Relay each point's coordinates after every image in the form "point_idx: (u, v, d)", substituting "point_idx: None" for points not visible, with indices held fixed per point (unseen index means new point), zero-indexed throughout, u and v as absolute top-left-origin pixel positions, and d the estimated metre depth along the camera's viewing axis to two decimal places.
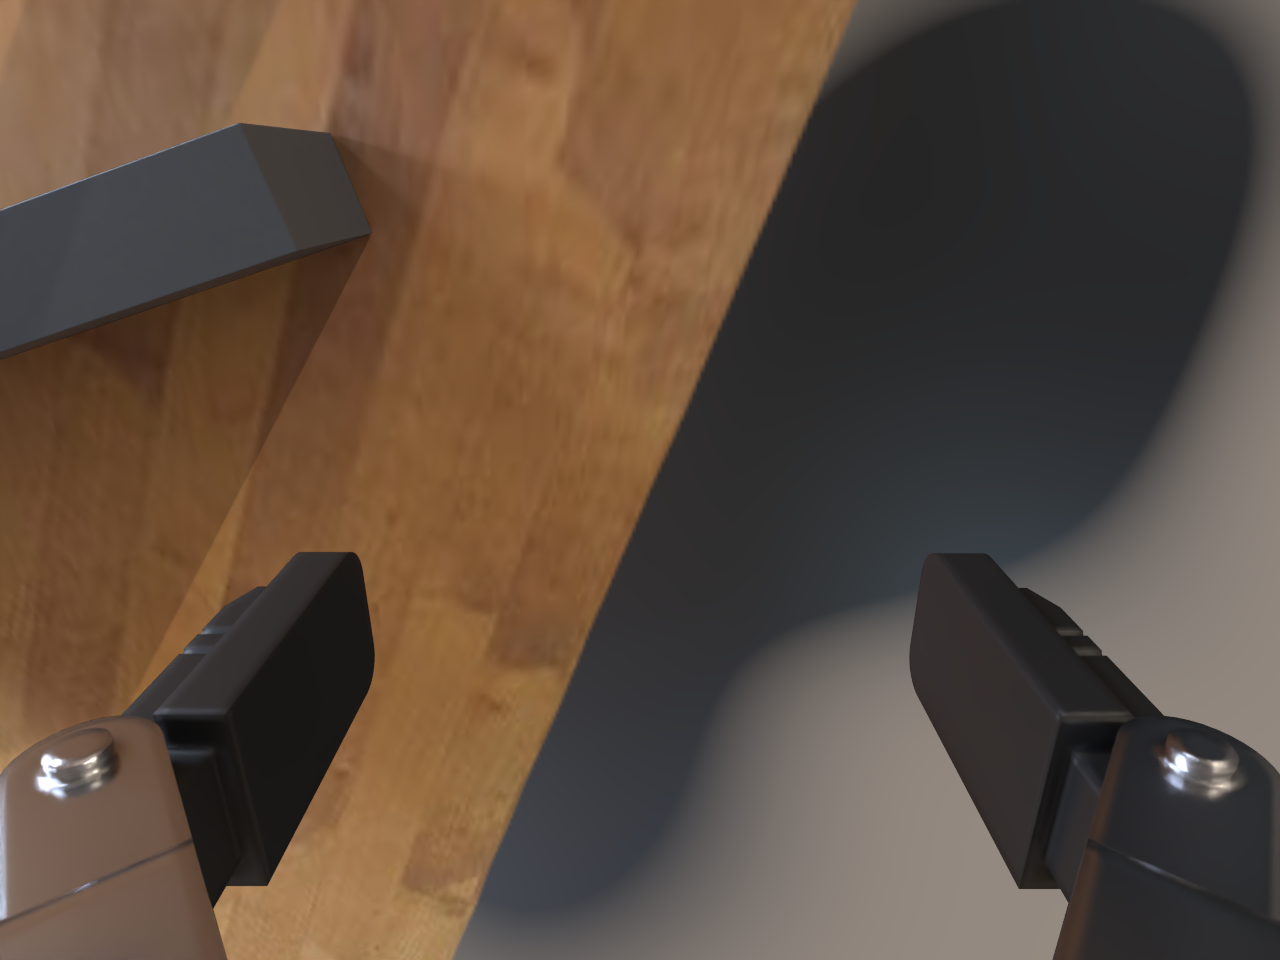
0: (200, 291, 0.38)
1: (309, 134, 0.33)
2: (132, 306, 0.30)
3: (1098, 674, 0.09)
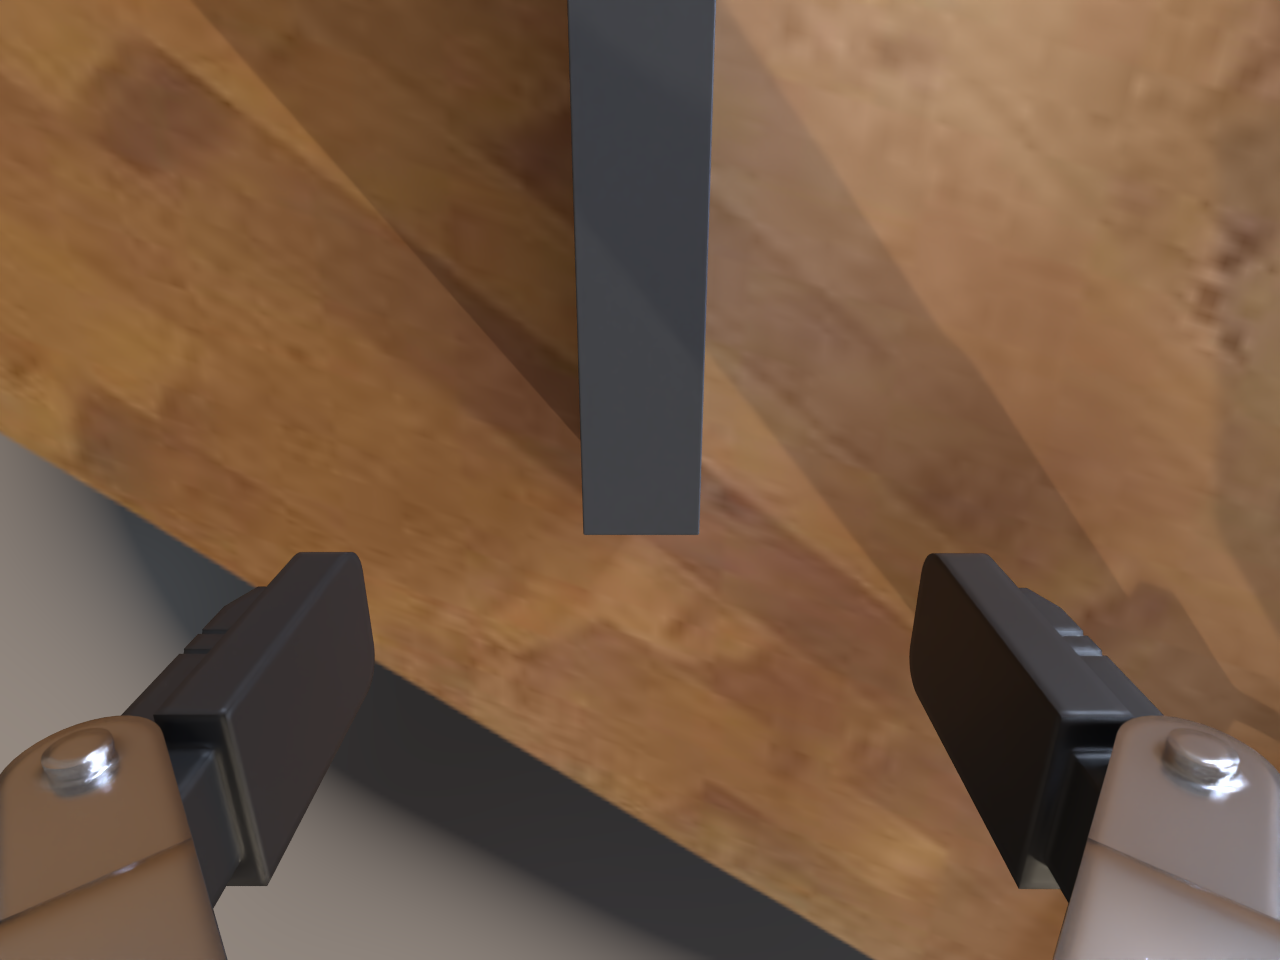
0: None
1: None
2: (579, 361, 0.28)
3: (1098, 674, 0.09)
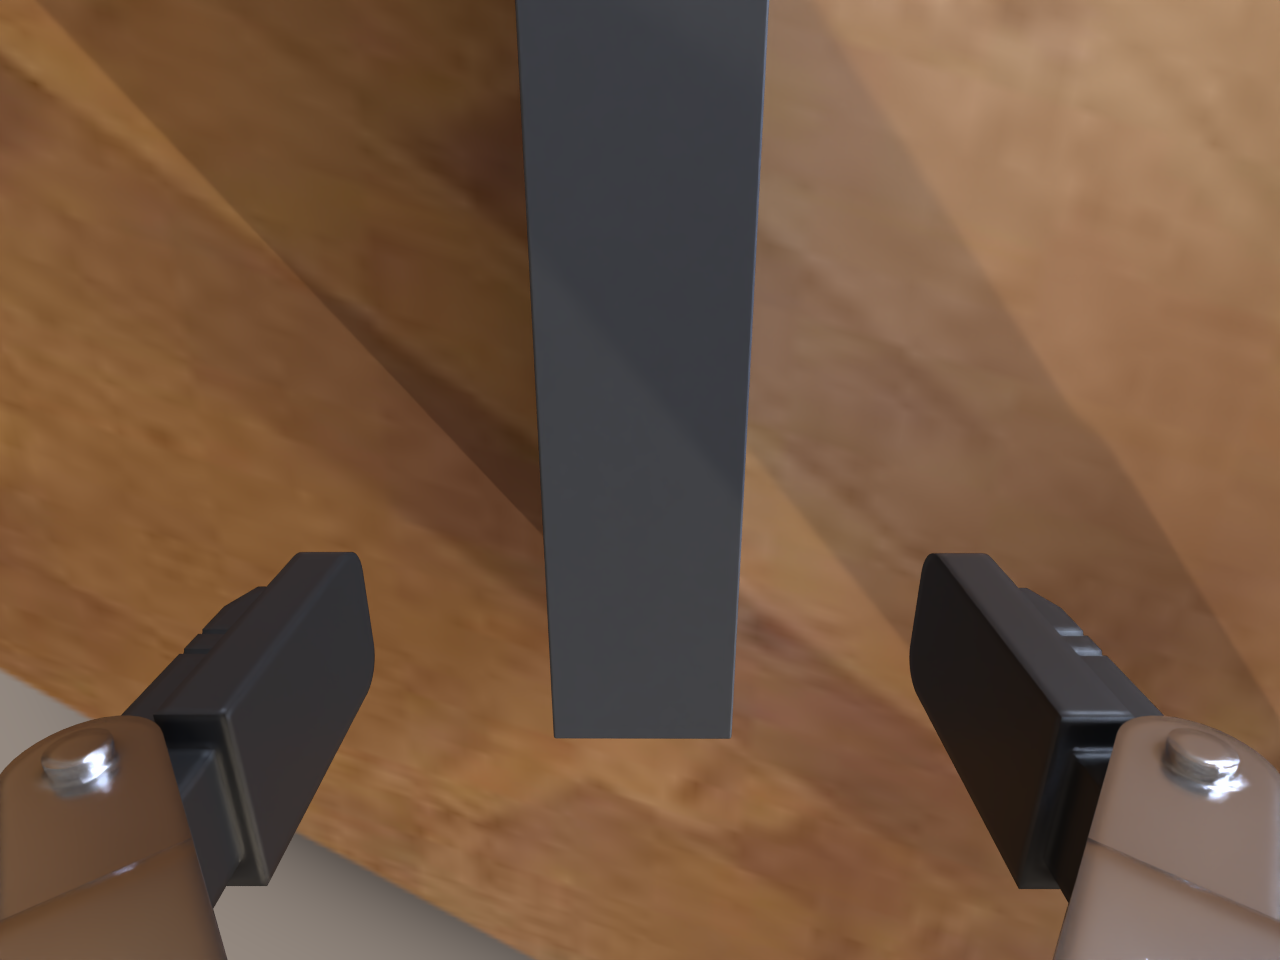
0: None
1: None
2: (542, 488, 0.18)
3: (1098, 674, 0.09)
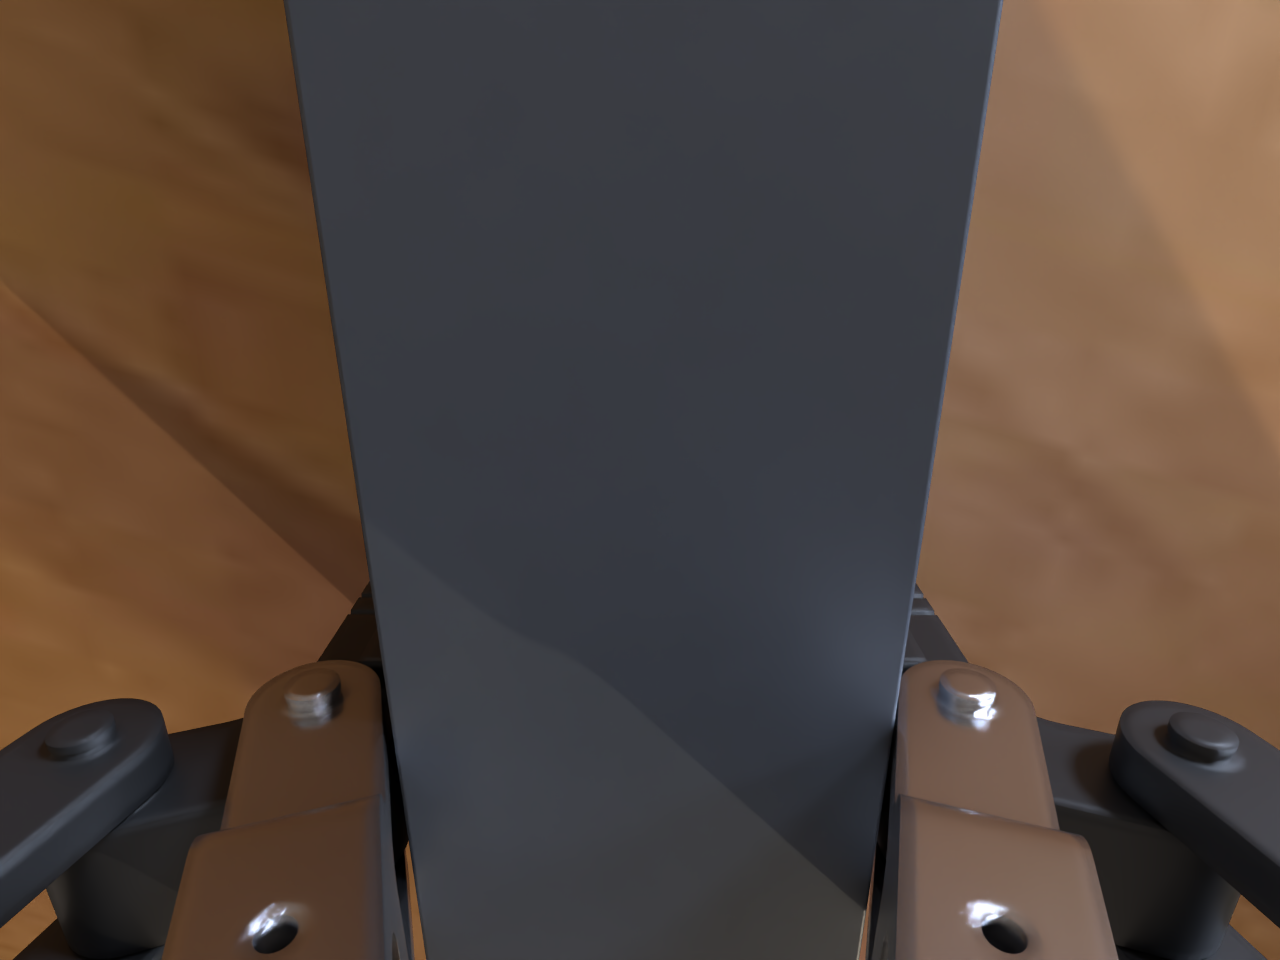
0: None
1: None
2: (416, 875, 0.08)
3: (922, 630, 0.09)
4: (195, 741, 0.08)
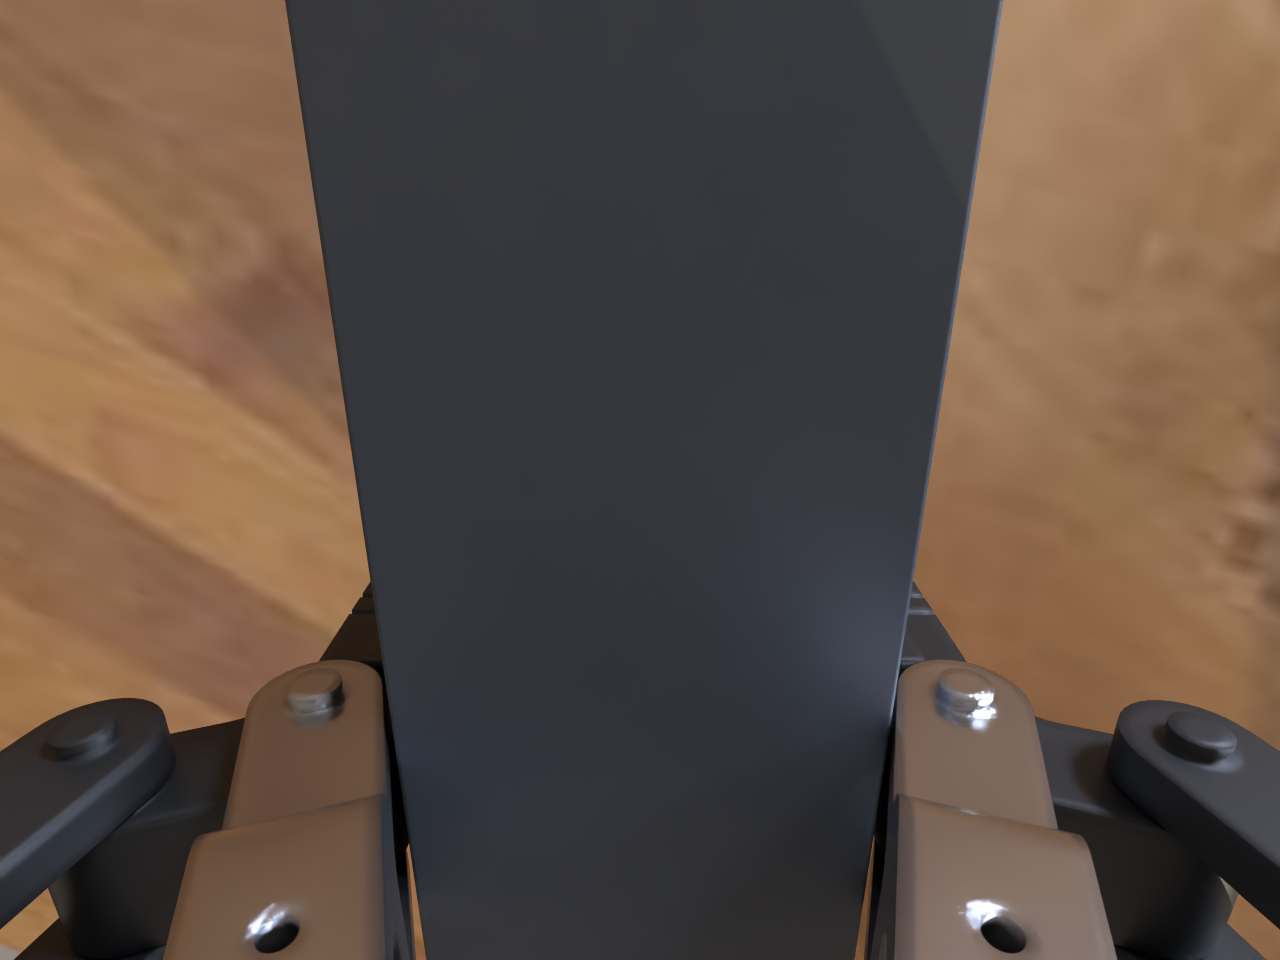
0: None
1: None
2: (416, 872, 0.08)
3: (921, 630, 0.09)
4: (197, 741, 0.08)
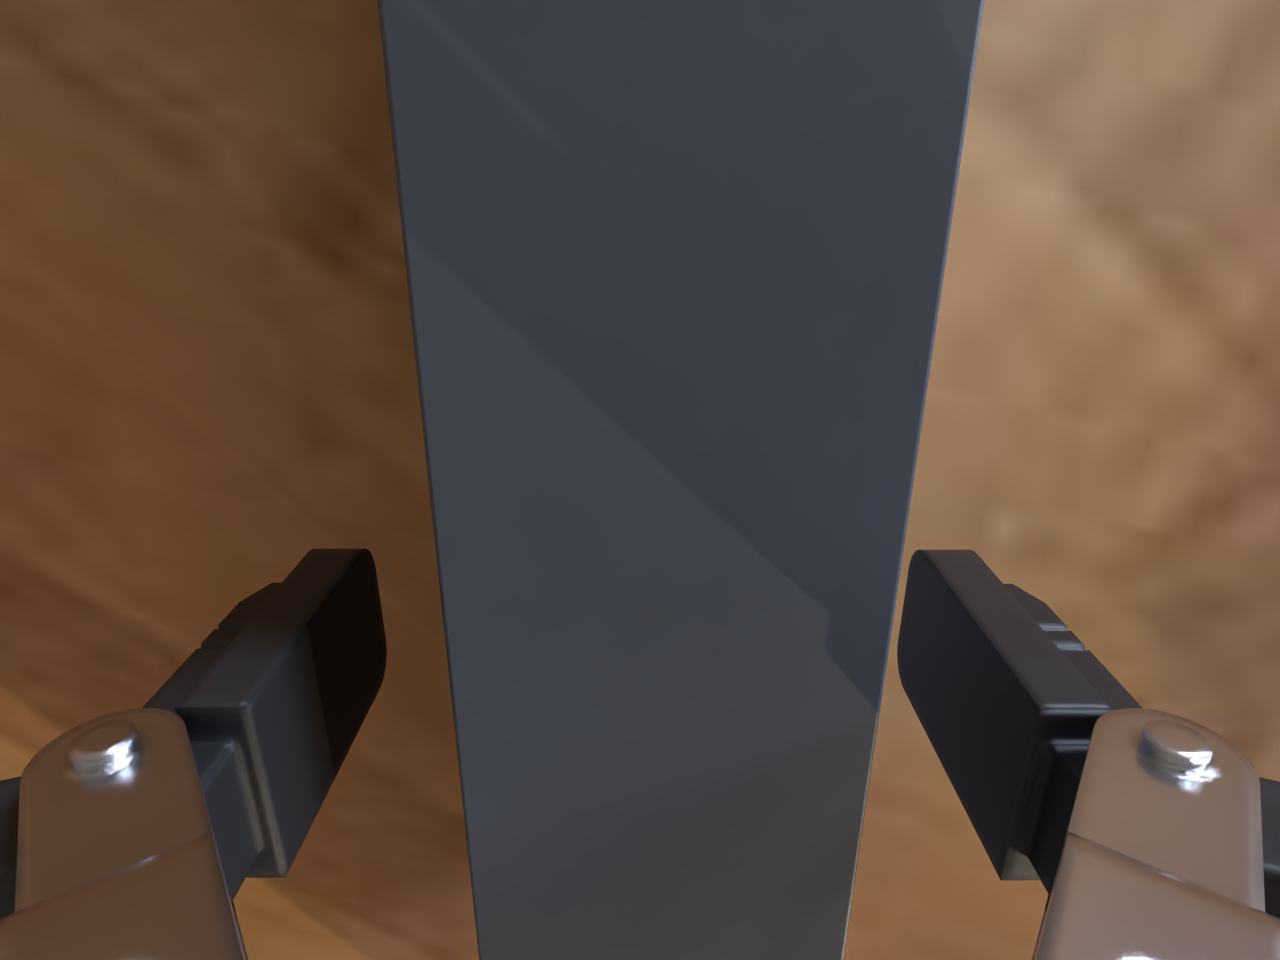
0: None
1: None
2: (466, 810, 0.09)
3: (1080, 668, 0.09)
4: None
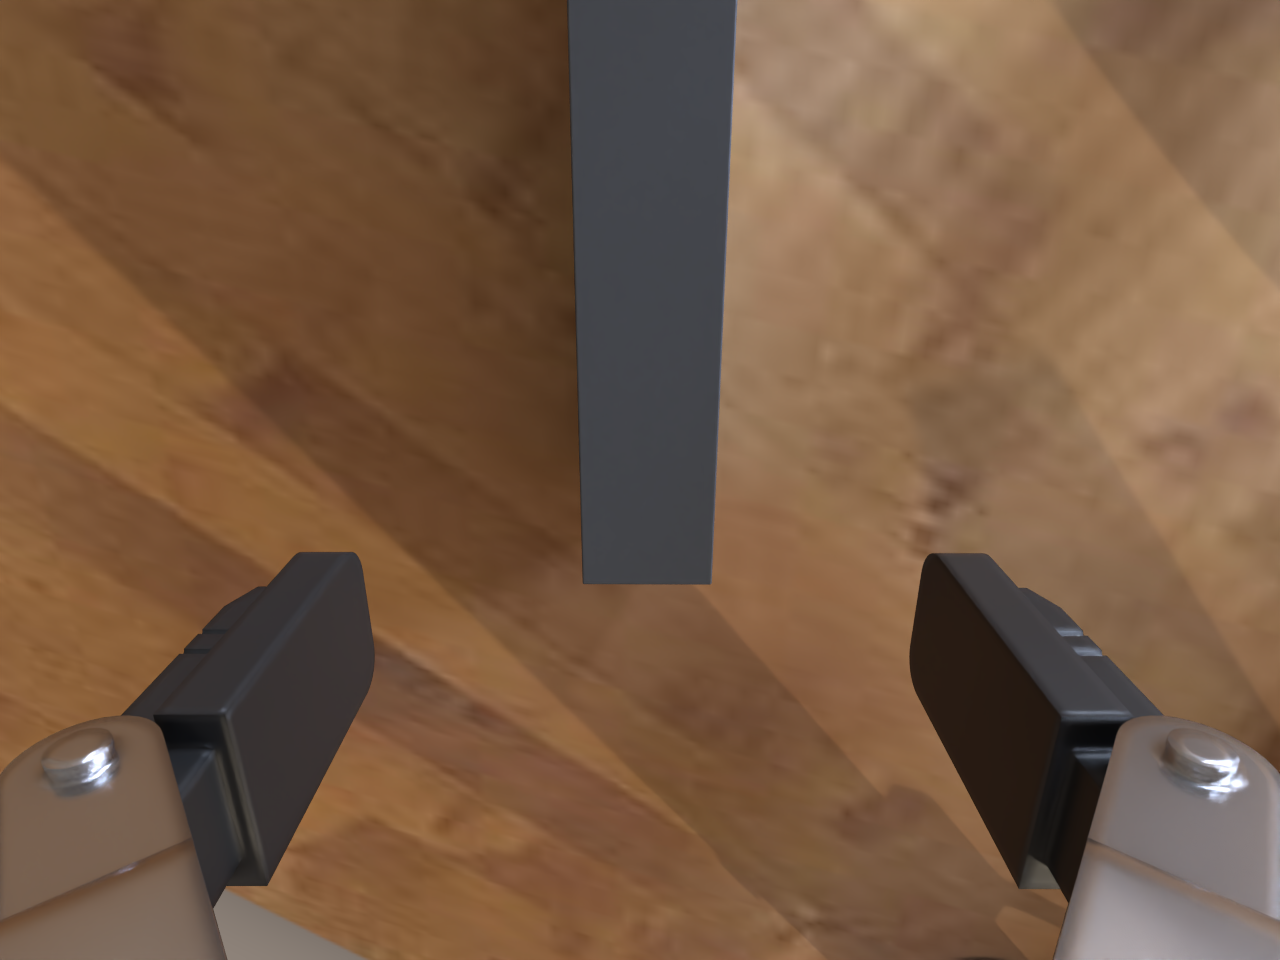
0: None
1: None
2: (578, 393, 0.25)
3: (1098, 674, 0.09)
4: None
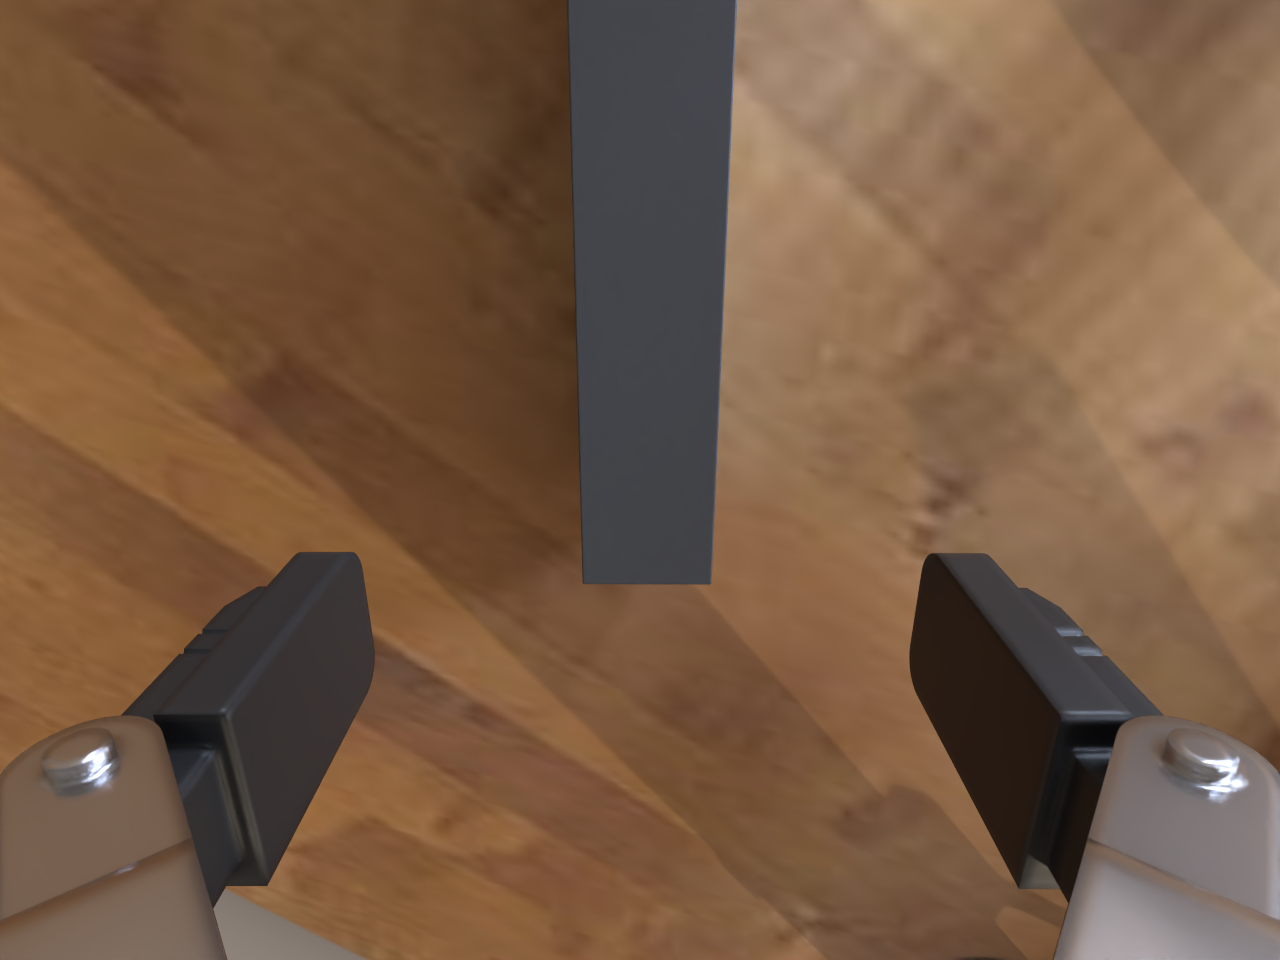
0: None
1: None
2: (578, 394, 0.25)
3: (1098, 674, 0.09)
4: None
